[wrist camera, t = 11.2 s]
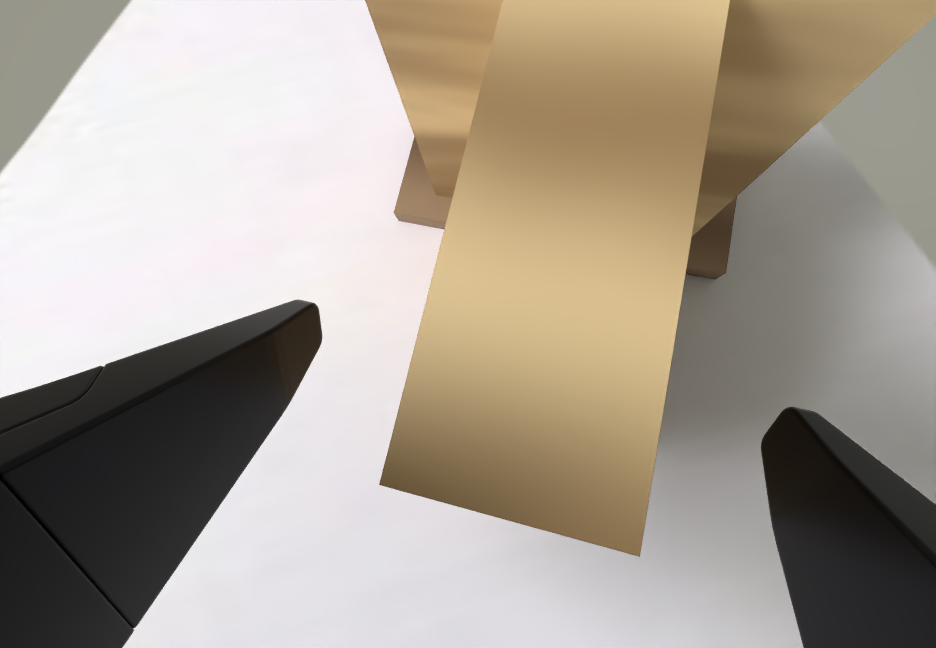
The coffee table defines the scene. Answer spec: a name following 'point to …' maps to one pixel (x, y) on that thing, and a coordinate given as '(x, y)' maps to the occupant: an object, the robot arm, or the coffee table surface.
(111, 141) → the coffee table surface
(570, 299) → the oak T block
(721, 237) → the walnut T outline
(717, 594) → the coffee table surface
